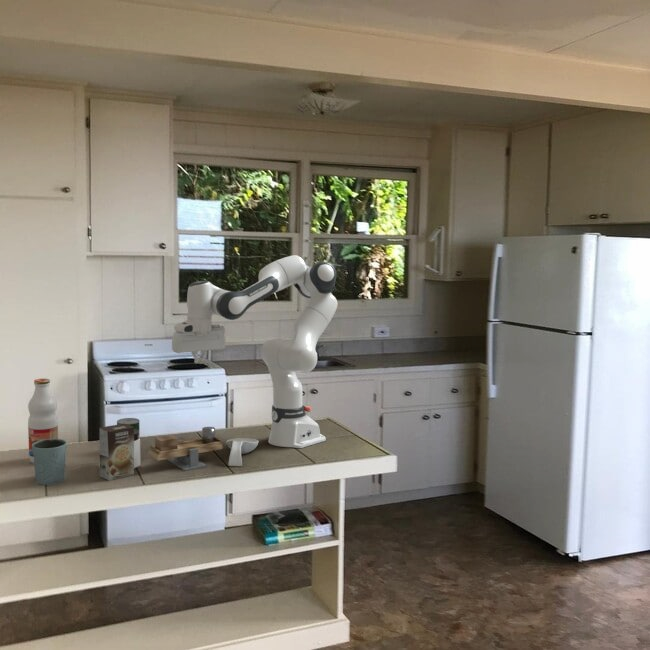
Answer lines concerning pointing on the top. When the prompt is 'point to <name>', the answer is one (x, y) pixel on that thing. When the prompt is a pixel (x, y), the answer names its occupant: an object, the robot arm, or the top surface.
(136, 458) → the jar
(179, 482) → the top surface
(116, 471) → the coffee box
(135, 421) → the canned tomato
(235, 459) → the spoon rest
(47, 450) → the teal cup
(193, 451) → the stand
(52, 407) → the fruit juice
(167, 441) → the block
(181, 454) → the beam
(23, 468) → the top surface
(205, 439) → the cylinder
